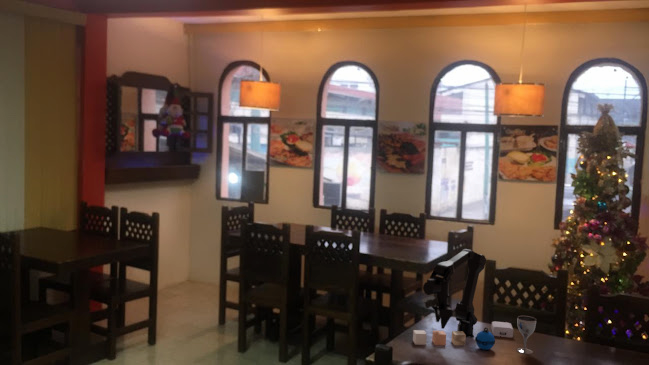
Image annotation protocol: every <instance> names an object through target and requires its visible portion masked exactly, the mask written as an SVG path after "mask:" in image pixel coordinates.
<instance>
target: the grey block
mask: <svg viewBox="0 0 649 365" xmlns="http://www.w3.org/2000/svg"><path fill="white" fill-rule="evenodd" d="M412 332H413V333H412V341H413V343H414V345H419V346H420V345H427V337H428V335H427V332H426V331H425V330H421V329H413V331H412Z"/></svg>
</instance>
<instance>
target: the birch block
mask: <svg viewBox="0 0 649 365" xmlns="http://www.w3.org/2000/svg"><path fill="white" fill-rule="evenodd" d="M450 340H451V344H453V346H466V335H465V333H464V332H463V331H457V330H452V331H451V339H450Z"/></svg>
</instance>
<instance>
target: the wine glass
mask: <svg viewBox="0 0 649 365" xmlns="http://www.w3.org/2000/svg"><path fill="white" fill-rule="evenodd" d="M516 321H517V329H518V331H519V333H520V334H521V335H522V338H523V347H518V348H516V349H515V350H516V352H518V353H520V354H523V355H524V354H526V355H530V354H533V350H531V349H529V348H527V341H528V338H529V337H530V336H531V335H532V334H533V333H534V332H535V330H536V325H537V318H535V317H534V316H530V315H519V316H517V319H516Z"/></svg>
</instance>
